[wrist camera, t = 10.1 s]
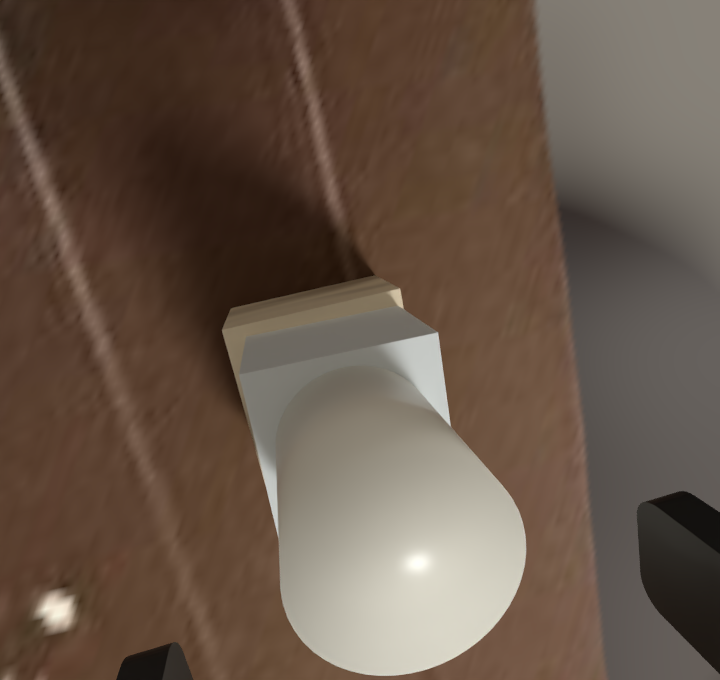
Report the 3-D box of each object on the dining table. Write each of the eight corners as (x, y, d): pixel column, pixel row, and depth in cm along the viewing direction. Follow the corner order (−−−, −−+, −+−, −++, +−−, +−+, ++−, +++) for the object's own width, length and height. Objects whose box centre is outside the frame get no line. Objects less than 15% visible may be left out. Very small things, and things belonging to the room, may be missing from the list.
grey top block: (245, 336, 20) (239, 374, 15) (398, 305, 20) (437, 332, 16) (278, 476, 21) (281, 551, 16) (419, 442, 22) (461, 505, 17)
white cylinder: (258, 386, 15) (253, 490, 9) (423, 349, 16) (513, 425, 10) (294, 533, 16) (308, 705, 11) (444, 494, 17) (536, 636, 11)
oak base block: (230, 307, 24) (221, 329, 19) (374, 274, 25) (399, 288, 20) (267, 441, 26) (267, 492, 21) (400, 407, 27) (429, 447, 22)
